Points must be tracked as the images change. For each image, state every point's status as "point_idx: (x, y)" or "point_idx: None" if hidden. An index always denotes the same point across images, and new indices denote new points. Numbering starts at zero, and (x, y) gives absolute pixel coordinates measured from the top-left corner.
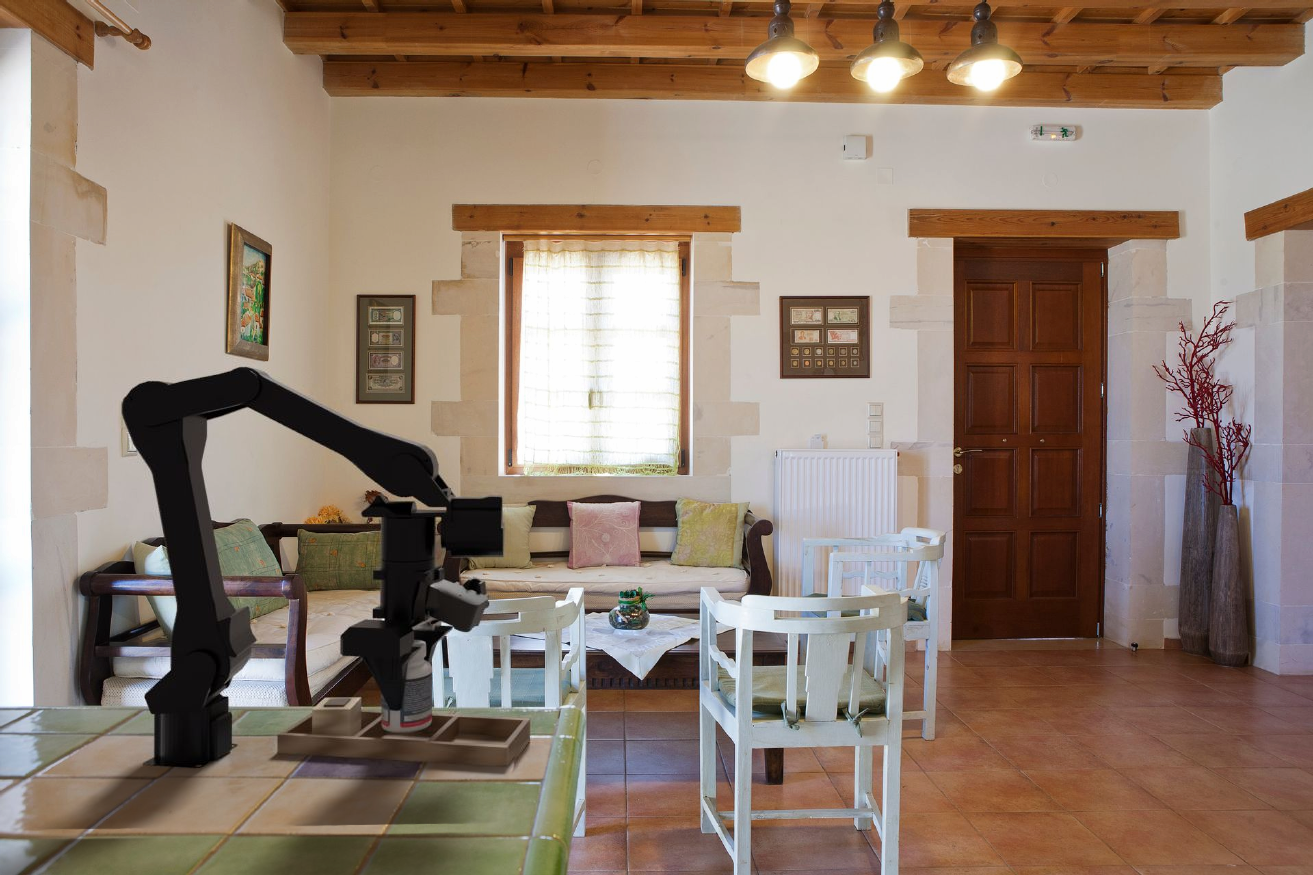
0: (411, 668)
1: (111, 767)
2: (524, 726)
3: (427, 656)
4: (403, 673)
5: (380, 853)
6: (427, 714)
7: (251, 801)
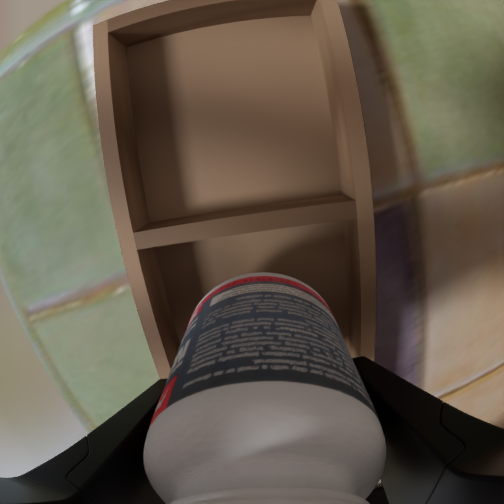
0: (354, 458)
1: None
2: (153, 5)
3: (108, 471)
4: (465, 424)
5: None
6: (272, 285)
7: (486, 385)
